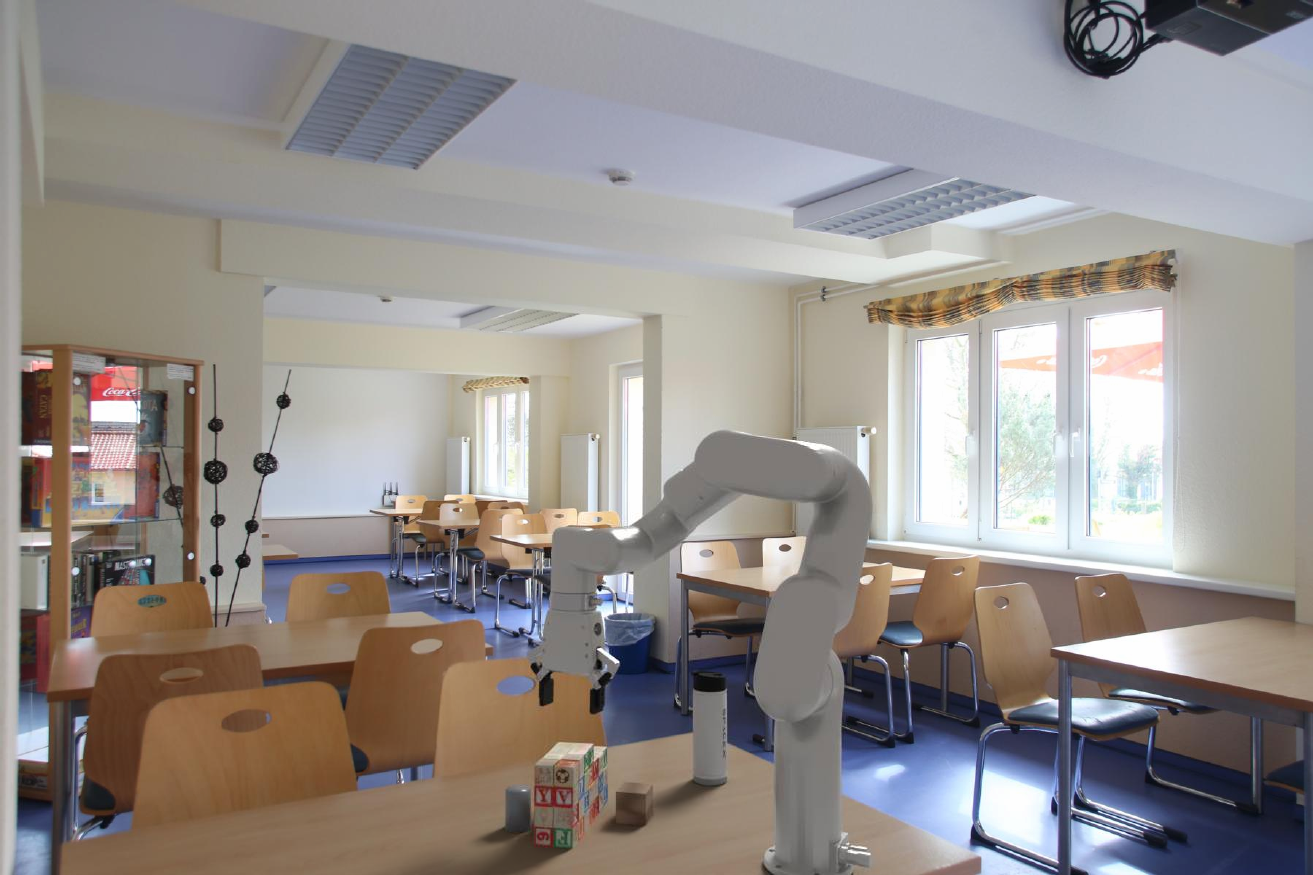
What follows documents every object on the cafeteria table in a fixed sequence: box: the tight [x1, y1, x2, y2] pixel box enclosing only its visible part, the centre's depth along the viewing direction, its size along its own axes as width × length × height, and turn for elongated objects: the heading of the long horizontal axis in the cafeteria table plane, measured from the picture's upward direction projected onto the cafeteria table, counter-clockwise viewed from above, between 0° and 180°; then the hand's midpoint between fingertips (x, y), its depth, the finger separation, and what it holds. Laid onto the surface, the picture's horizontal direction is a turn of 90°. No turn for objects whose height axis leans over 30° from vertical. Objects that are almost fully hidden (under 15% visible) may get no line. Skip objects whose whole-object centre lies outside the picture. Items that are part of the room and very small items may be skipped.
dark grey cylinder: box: [504, 784, 532, 834], centre depth 142 cm, size 4×4×6 cm
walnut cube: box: [615, 781, 654, 826], centre depth 146 cm, size 5×5×5 cm
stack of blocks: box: [533, 741, 609, 850], centre depth 145 cm, size 21×6×12 cm, turn 169°
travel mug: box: [690, 670, 728, 787], centre depth 165 cm, size 6×7×20 cm
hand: (571, 708), depth 145 cm, fingers open, 9 cm apart
